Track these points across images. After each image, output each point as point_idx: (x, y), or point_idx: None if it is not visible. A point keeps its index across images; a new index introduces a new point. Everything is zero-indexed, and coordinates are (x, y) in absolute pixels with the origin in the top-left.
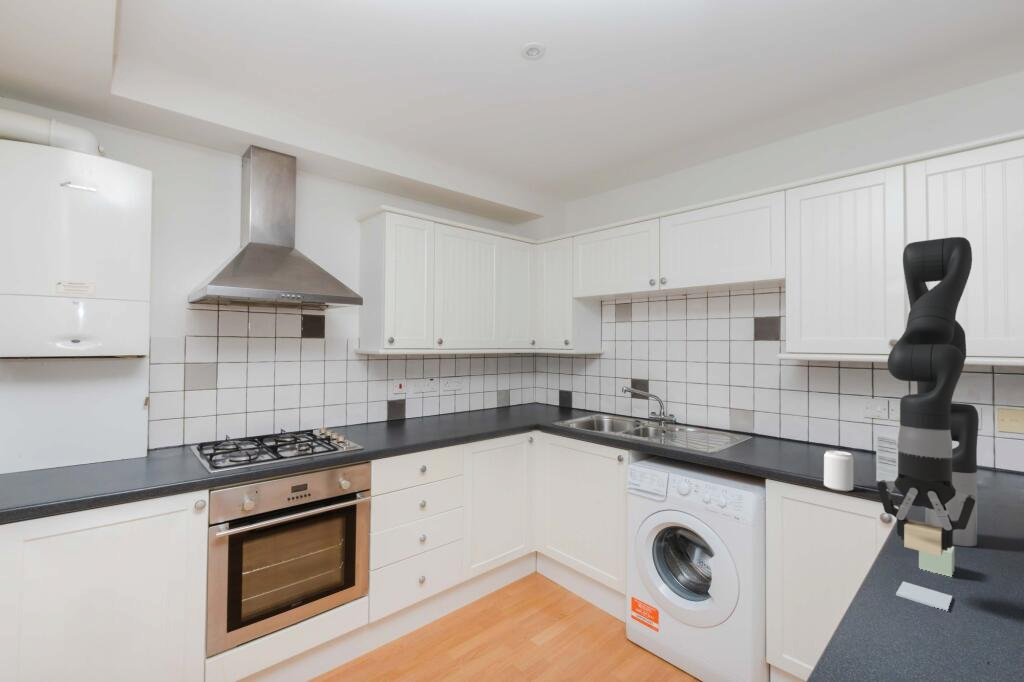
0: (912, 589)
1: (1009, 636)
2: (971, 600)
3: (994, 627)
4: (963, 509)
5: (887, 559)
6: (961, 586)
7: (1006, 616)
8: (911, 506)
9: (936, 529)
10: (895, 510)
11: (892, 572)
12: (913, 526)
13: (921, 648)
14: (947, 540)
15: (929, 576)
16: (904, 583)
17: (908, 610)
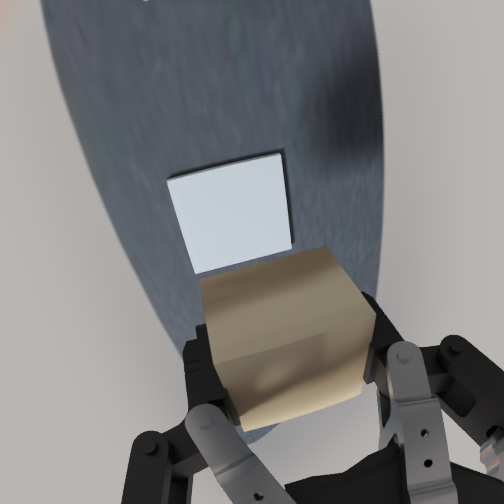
0: (205, 213)
1: (375, 243)
2: (311, 118)
3: (358, 230)
4: (478, 438)
5: (55, 25)
6: (271, 30)
7: (372, 148)
8: (260, 462)
9: (347, 378)
10: (201, 468)
11: (110, 121)
12: (272, 418)
13: None
14: None
15: (187, 34)
16: (176, 194)
17: None
